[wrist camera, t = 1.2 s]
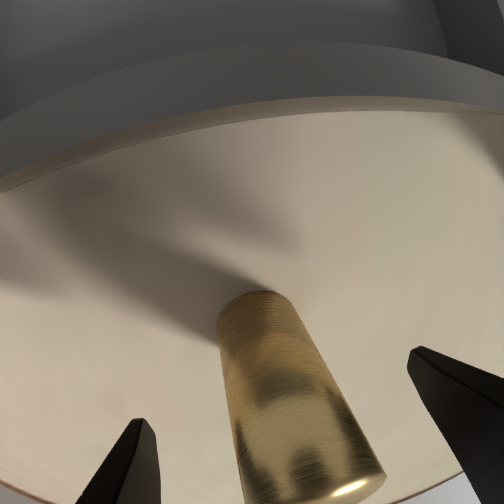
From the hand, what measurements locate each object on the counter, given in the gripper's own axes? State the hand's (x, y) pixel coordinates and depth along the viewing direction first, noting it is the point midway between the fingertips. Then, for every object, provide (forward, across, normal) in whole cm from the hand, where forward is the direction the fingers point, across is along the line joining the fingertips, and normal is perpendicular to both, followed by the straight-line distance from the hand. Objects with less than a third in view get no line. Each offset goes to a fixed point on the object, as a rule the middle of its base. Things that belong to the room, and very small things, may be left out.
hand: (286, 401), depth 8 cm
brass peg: (+4, 0, 0) cm, 4 cm away
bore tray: (+4, 0, -16) cm, 17 cm away
